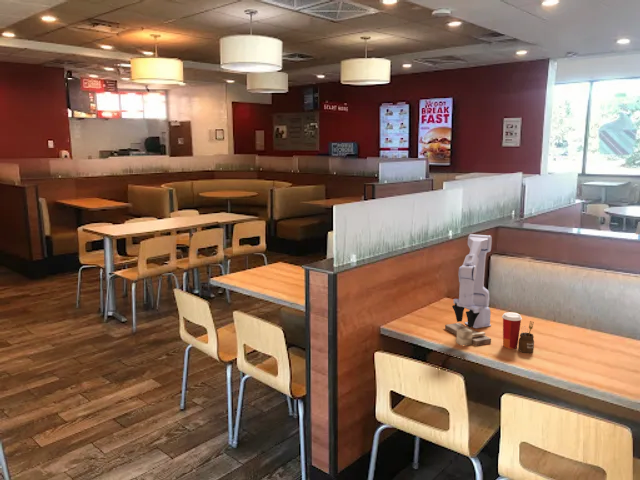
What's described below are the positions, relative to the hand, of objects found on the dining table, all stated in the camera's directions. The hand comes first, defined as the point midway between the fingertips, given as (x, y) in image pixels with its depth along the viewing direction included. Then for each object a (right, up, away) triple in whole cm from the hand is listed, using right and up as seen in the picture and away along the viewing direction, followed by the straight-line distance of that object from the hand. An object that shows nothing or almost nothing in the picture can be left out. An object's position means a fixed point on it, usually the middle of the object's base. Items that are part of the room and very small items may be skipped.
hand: (464, 324), depth 218 cm
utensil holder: (+23, -10, -6) cm, 26 cm away
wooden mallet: (+4, -8, +3) cm, 10 cm away
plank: (+4, -7, +10) cm, 13 cm away
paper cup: (+19, -9, -2) cm, 21 cm away
